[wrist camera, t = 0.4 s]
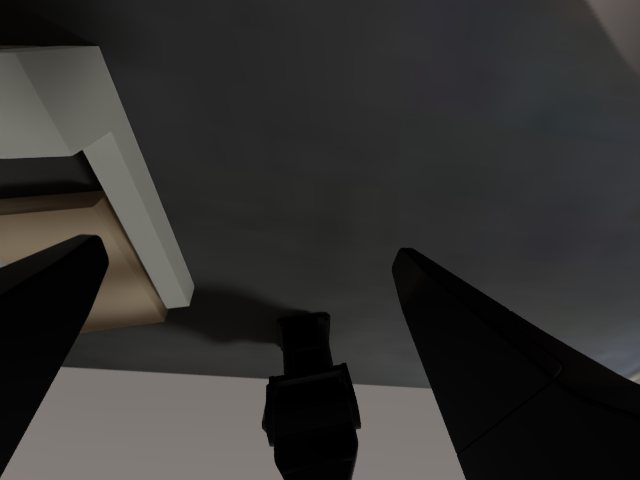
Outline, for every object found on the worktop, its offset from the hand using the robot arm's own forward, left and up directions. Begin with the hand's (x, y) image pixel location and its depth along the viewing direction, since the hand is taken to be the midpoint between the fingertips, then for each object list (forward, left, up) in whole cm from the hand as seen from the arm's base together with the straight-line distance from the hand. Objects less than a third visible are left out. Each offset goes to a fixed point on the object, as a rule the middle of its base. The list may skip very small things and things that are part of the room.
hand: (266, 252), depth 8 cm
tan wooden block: (-11, +16, -14) cm, 24 cm away
